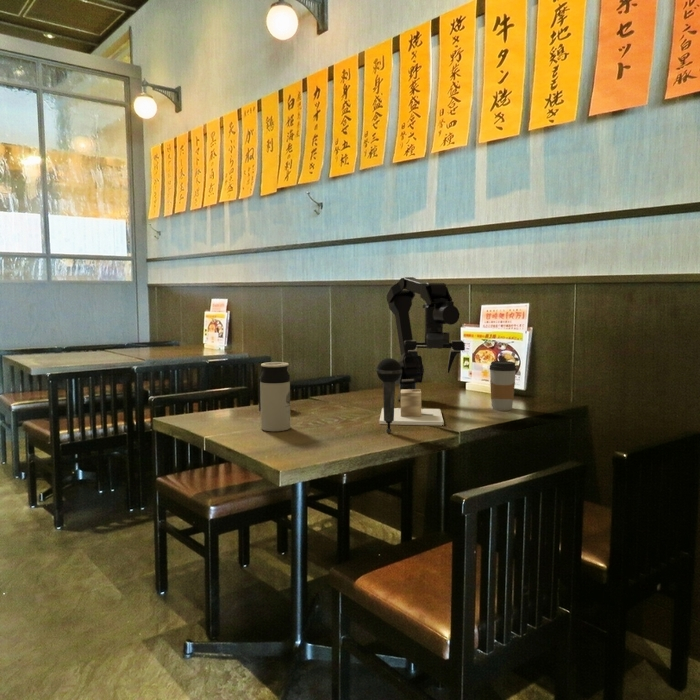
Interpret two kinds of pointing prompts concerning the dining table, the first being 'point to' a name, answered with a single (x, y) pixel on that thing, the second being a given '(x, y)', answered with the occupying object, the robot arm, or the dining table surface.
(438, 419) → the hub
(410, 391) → the cardboard box
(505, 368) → the coffee cup
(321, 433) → the dining table surface
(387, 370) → the microphone
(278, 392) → the travel mug
